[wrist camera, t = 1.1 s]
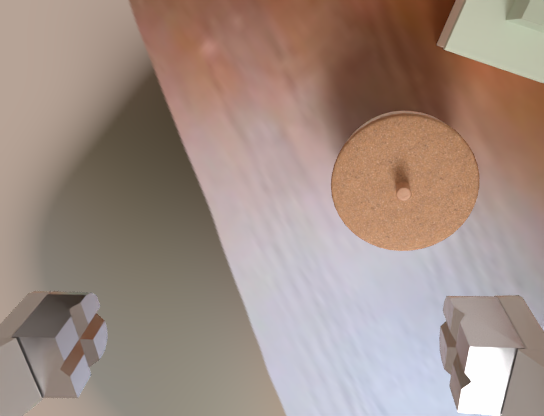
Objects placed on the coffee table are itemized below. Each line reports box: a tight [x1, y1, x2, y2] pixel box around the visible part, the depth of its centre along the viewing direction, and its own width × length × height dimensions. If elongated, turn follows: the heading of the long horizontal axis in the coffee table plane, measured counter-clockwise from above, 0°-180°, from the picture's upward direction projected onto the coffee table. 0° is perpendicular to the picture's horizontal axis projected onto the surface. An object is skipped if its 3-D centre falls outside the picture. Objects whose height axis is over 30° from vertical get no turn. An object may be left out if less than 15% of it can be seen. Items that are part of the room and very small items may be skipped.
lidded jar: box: [331, 111, 479, 251], centre depth 37 cm, size 11×11×9 cm
